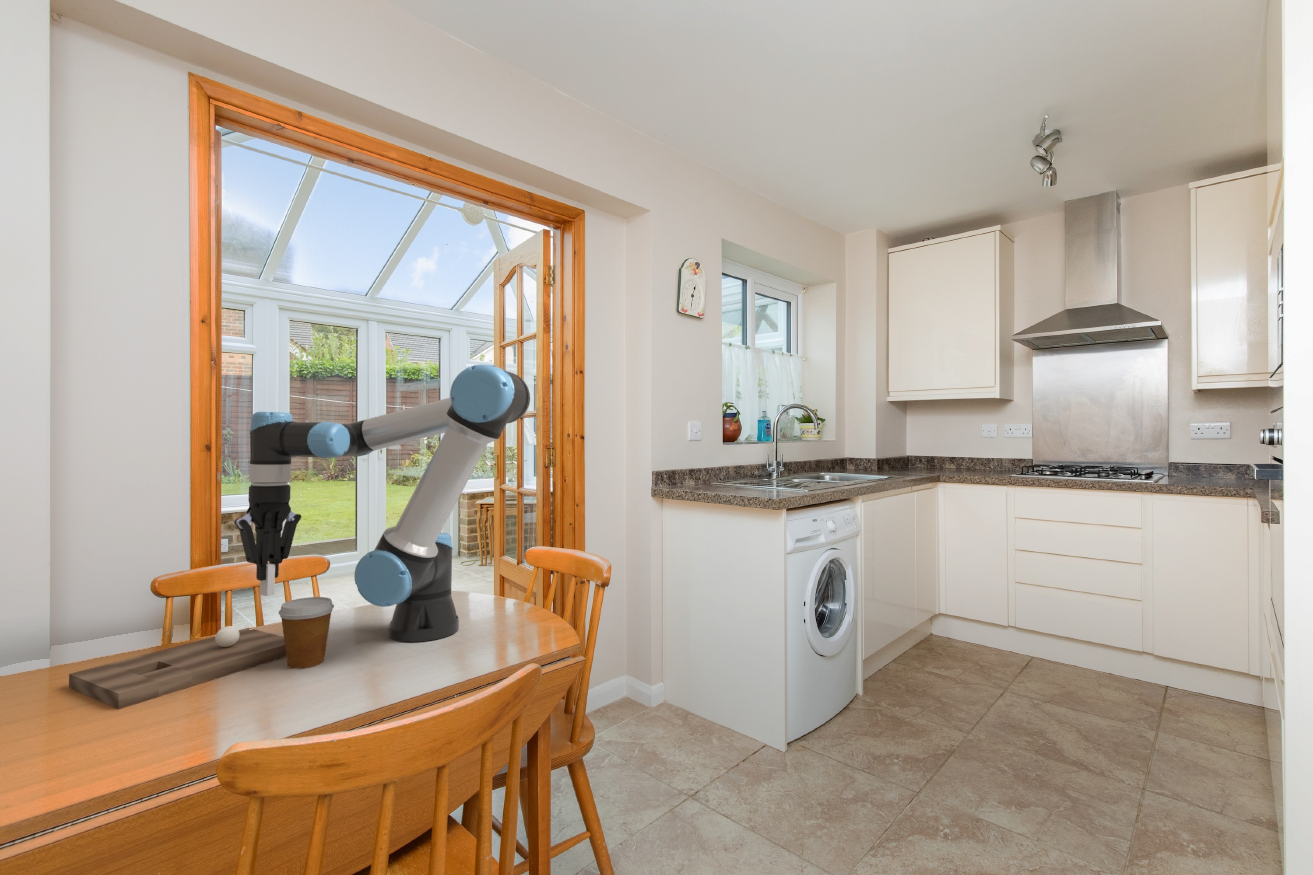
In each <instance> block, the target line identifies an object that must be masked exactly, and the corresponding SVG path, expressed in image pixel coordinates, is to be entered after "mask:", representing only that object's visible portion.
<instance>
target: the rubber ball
mask: <svg viewBox="0 0 1313 875" xmlns="http://www.w3.org/2000/svg"><path fill="white" fill-rule="evenodd" d="M238 630H239V629H238V628H236V627H235V626H232V625H228V626H224V627H222V628H220V629H219V630H218V631H217V632H216V633H215V636H214V637H215V641H216V643H217V644H218V645H219V646H221V647H229V646H232V645H234V644H235V643H236V642H237V641H238V639H239V636H240V633H239V631H238Z"/></svg>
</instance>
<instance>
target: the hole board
mask: <svg viewBox="0 0 1313 875" xmlns="http://www.w3.org/2000/svg"><path fill="white" fill-rule="evenodd" d="M249 629H253V630H249ZM238 631H239V633H240V636H239V639H238V641H237V642H236V643H235V644H234V645H232V646H229V647H221V646H219V645H218V644H217V643H216V641H215V636H211V637H207V638H203V639H201V640H196V641H191V642H188V643H185V644H180V645H176V646H172V647H169V648H165V649H161V650H157V651H153V652H149V653H145V654H141V655H138V656H134V657H130V658H126V659H122V660H118V661H117V660H116V661H113V662H109V663H105V664H103V665H99V666H95V667H91V668H87V669H86V668H85V669H83V670H79V671H76V672H72V673H71V672H70V673H68V689H70V690H73V691H75V692H77V693H80V694H83V695H84V696H86V697H89V698H91V699H93V700H96V701H98V702H101V703H103V704H105V705H108V706H110V707H112V708H115V709H117V710H121V709H124V708H126V707H130V706H133V705H136V704H140V703H142V702H147V701H149V700H151V699H154V698H158V697H161V696H164V695H168V694H171V693H174V692H177V691H180V690H184V689H187V688H190V687H193V685H194V686H197V685H200V684H203V683H206V682H210V681H213V680H216V679H220V678H222V677H225V676H229V675H231V674H234V673H238V672H240V671H245V670H247V669H251V668H254V667H256V666H257V665H258V666H261V665H264V664H267V663H270V662H274V661H277V660H279V659H282V658H287V657H286V650H285V642H284V635H283V636H282V635H279V634H275V633H271V632H266V631H262V630H259V629H255V628H250V627H247V628H241V629H238ZM260 664H261V665H260ZM215 678H216V679H215ZM209 680H210V681H209Z"/></svg>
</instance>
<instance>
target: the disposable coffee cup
mask: <svg viewBox="0 0 1313 875" xmlns="http://www.w3.org/2000/svg"><path fill="white" fill-rule="evenodd" d="M334 607H335V605H334V604H333V601H332V599H331V598H329V597H325V596H311V597H302V598H296V599H292V600H288V601H286V602H283V603H282V604H281V606H280V610H279V611H278V615H279V617H280V618H281V624H282V625H281V626H282V633H283V634H282V635H283V637H284V642H285V650H286V657H285V658H286V665H287V668H290V669H294V668H301V669H307V668H313V667H316V666H319V665H321V664H322V663H324V662H325V658H326V657H325V656H326V649H327V645H328V644H327V642H328V636H329V630H330V624H331V623H330V622H331V616H332V612H333V609H334ZM312 666H313V667H312Z"/></svg>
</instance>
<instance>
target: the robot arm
mask: <svg viewBox="0 0 1313 875" xmlns="http://www.w3.org/2000/svg"><path fill="white" fill-rule="evenodd" d="M530 403H531V393H530V389H529V387H528V384H526V381H524V379H522V377H520V376H519V375H517V374H516V373H513V372H511V371H507V370H505V369H503V368H501V367H498V366H496V365H492V364H475V365H471V366H468V367H466V368H465V369H464V370H463V369H462V371H460V372H459V373H458V374H457V376H456V377H455V379H454V380H453V382H452V384H451V387H450V392H449V397H448V398H443V399H440V400H436V401H432V402H429V403H428V402H427V403H424V404H420V405H416V406H413V407H412V406H411V407H408V408H406V409H405V408H404V409H401V410H397V411H393V412H389V413H386V414H381V415H378V416H374V417H370V418H367V419H364V420H363V419H362V420H358V421H356V422H355V421H354V422H350V423H339V422H333V421H331V422H330V421H321V422H320V421H317V422H315V421H314V422H313V421H304V422H302V421H301V422H300V421H298V422H297V421H294V419H293V415H292V413H289V412H284V411H283V412H280V411H256V412H254V413H252V416H251V419H250V420H251V421H250V422H251V423H250V430H249V443H250V444H249V445H250V446H249V449H250V450H249V452H250V454H249V456H250V457H249V458H250V459H249V473H248V474H249V477H248V478H249V479H248V480H249V481H248V482H249V483H250V484H252V485H249V486H248V504H249V505H248V508H247V509H246V514H245V515H244V516H242V517H240V518H236V519H234V521H233V522H234V525H235V526H236V528H237V529H238V530H239V534H240V539H241V543H242V548H243V551H244V556H245V560H246V562H247V563H250V564H254V565H255V566H256V576H255V577H256V580H258V581H259V595H261V596H264V597H265V596H266V597H269V596H274V595H275V592H276V591H275V588H276V586H275V585H276V584H275V583H276V582H275V580H276V579H277V578H278V577H279V574H280V573H279V571H280V568H279V566H280V564H281V563H283V561H284V560H287V559H288V558H289V556H290V553H291V548H292V545H293V542H294V537H295V533H296V529H297V526H298V524H299V522H300V520H301V519H302V515H301V513H300V514H299V513H295V512H294V511H292V507H291V505H290V500H291V488H292V487H291V485H290V484H288V483H290V482H291V481H292V458H296V457H297V458H299V457H300V458H316V459H317V458H320V459H323V460H324V459H333V458H340V457H353V458H357V457H363V456H367V455H369V454H371V453H372V452H374V451H377V450H381V449H386V448H389V447H394V446H397V445H398V446H399V445H402V444H405V443H409V442H414V441H417V440H422V439H426V438H430V437H433V436H438V435H442V434H443V436H442V438H441V440H440V441H439V443H438V445H437V448H436V449H435V451H434V453H433V454H432V456H431V458H430V461H429V462H428V464H427V466H426V469H425V470H424V472H423V474H422V475H421V478H420V480H419V481H418V483H417V485H416V487H415V488H414V491H413V493H412V494H411V496H410V499H409V500H408V503H407V504H406V506H405V508H404V509H403V511H402V513H401V516H400V517H399V519H398V521H397V523H396V524H395V526H392V527H391V526H390V527H389V528H386V529H385V530H384V531H383V533H382V535H381V537H380V539H379V540H378V543H377V545H376V546H375V547H374V550H371V551H369V552H367V553H366V554H365V555H363V556H362V557H361V558H360V559H359V560H358V562H357V564H356V566H355V570H354V576H353V577H354V578H353V579H354V583H355V585H356V587H357V591H358V593H359V594H360V596H361V597H362V598H363V599H364V600H365V601H367V602H368V603H370V604H372V605H374V606H377V607H381V608H384V607H385V608H386V607H393V606H395V608H394V611H393V614H392V618H391V620H390V623H389V625H388V637H389V638H390V639H392V640H394V641H400V642H407V643H408V642H411V643H412V642H413V643H414V642H415V643H417V642H428V641H434V640H439V639H442V638H446V637H449V636H451V635H453V634H456V633H457V631H459V630H460V624H459V623H460V618H459V616H458V615H457V612H456V611H457V610H456V607H455V606H456V605H455V604H454V600H453V597H452V581H453V580H452V576H453V575H452V573H453V572H452V570H453V569H452V568H453V550H454V548H453V542H452V541H453V539H452V536H451V535H450V534H449V533H446V532H442V531H443V528H445V527H444V526H445V525H446V523H447V521H448V519H449V517H450V515H451V513H452V512H453V510H454V508H455V505H456V504H457V502H458V500H459V499H460V497H461V494H462V493H463V491H464V489H465V487H466V485H467V483H468V481H469V479H470V477H472V476H471V475H472V474H473V472H474V470H475V468H476V467H477V464H478V463H479V460H480V459H481V457H482V455H483V453H484V451H485V449H486V448H487V445H488V444H491V443H492V442H493V443H494V442H496V441H498V440H499V439H500V436H501V435H502V433H503V432H504V429H505V427H506V426H507V425H508V424H511V423H512V424H513V423H514V422H516V421H518V420H520V419H521V418H522V417H523V416H525V414H526V413H527V411H528V409H529V407H530ZM284 522H285V523H284ZM252 524H253V525H254V532H255V534H256V535H255V536H254V532H253V529H252V526H251V525H252ZM283 524H284V525H283Z"/></svg>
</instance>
